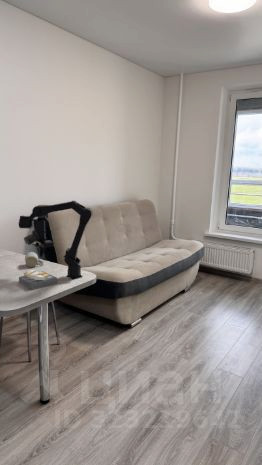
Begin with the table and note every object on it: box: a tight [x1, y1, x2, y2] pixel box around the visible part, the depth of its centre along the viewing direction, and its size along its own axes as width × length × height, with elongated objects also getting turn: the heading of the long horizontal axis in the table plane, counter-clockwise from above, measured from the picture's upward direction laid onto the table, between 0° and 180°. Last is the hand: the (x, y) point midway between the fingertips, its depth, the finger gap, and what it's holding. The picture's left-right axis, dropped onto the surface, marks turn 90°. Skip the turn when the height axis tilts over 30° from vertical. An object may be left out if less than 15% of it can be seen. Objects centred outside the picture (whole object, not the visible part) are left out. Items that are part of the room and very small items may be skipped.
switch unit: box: [18, 270, 58, 291], centre depth 167 cm, size 14×14×3 cm
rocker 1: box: [23, 268, 37, 277], centre depth 168 cm, size 5×3×2 cm, turn 136°
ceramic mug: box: [24, 251, 44, 268], centre depth 195 cm, size 11×8×8 cm
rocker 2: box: [28, 271, 40, 279], centre depth 165 cm, size 5×3×2 cm, turn 136°
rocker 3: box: [32, 275, 45, 280], centre depth 162 cm, size 5×3×2 cm, turn 136°
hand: (40, 256), depth 175 cm, fingers closed
